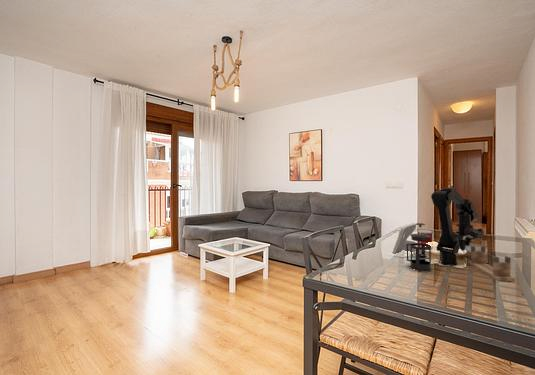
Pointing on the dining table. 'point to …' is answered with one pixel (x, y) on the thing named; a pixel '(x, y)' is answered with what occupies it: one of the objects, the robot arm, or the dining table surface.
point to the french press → (420, 252)
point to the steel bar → (468, 248)
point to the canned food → (426, 234)
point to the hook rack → (498, 270)
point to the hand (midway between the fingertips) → (464, 250)
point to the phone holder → (404, 239)
